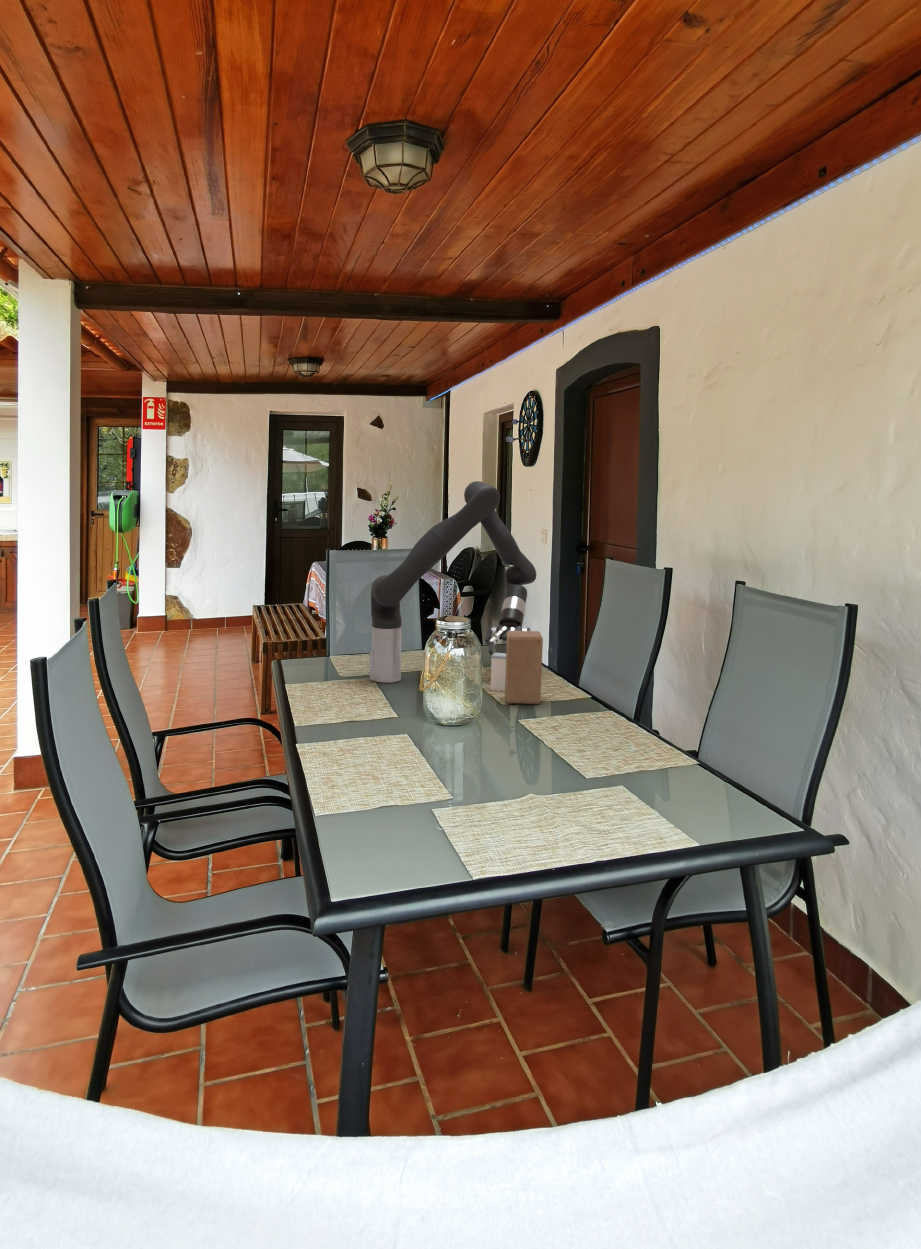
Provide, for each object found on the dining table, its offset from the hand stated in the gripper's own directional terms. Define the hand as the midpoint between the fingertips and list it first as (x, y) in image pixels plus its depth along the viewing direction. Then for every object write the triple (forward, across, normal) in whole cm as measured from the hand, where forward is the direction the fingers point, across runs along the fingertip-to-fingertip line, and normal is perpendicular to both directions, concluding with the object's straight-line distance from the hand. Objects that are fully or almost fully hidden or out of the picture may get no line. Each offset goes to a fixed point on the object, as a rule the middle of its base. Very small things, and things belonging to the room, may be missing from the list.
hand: (504, 655), depth 255 cm
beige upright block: (+10, 0, +3) cm, 11 cm away
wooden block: (+18, +9, -4) cm, 21 cm away
